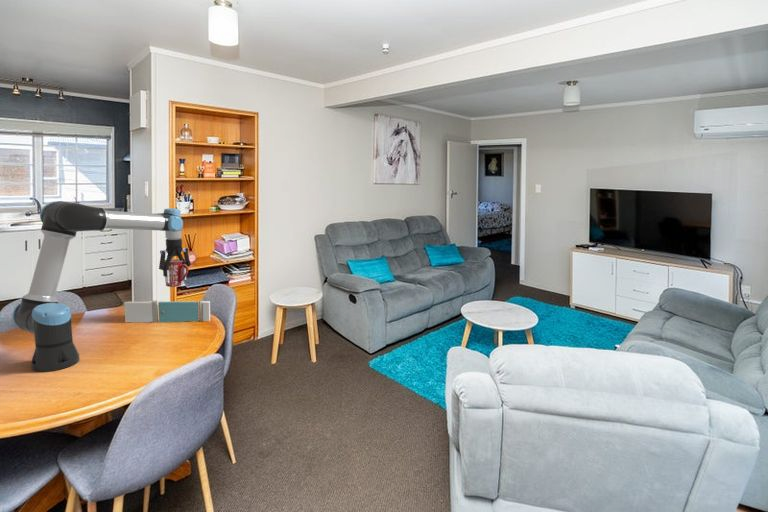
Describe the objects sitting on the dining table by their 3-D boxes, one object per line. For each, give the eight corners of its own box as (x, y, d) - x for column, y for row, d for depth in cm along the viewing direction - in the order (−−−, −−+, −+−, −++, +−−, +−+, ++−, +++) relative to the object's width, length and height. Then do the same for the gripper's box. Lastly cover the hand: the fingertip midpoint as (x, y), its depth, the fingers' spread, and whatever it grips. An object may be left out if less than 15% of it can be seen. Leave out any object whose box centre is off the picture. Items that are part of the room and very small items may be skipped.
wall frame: (209, 321, 226) (208, 301, 224) (125, 322, 219) (124, 301, 218) (210, 320, 228) (209, 300, 226) (127, 321, 221) (126, 300, 220)
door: (196, 322, 224) (196, 303, 222) (158, 323, 221) (157, 303, 219) (198, 320, 227) (198, 301, 225) (160, 320, 224) (159, 301, 222)
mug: (159, 286, 222) (159, 260, 221) (171, 283, 231) (171, 258, 230) (182, 288, 221) (182, 262, 219) (192, 285, 230) (192, 260, 228)
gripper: (189, 236, 232) (191, 276, 236) (149, 239, 215) (152, 283, 219) (196, 237, 228) (198, 278, 232) (156, 241, 211) (159, 285, 215)
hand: (176, 281), depth 226 cm, fingers closed on mug, 8 cm apart
